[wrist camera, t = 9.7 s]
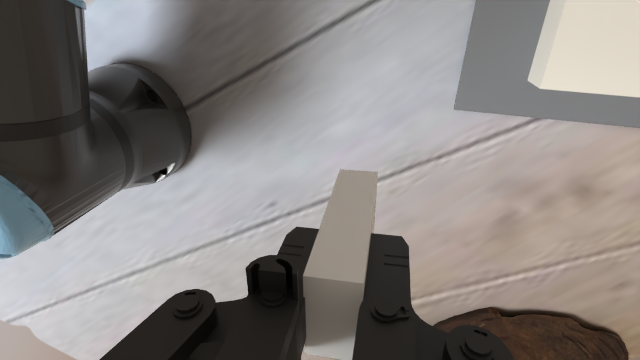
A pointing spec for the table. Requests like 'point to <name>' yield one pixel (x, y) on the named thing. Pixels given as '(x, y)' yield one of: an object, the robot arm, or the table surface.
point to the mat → (525, 71)
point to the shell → (543, 336)
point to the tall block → (589, 48)
